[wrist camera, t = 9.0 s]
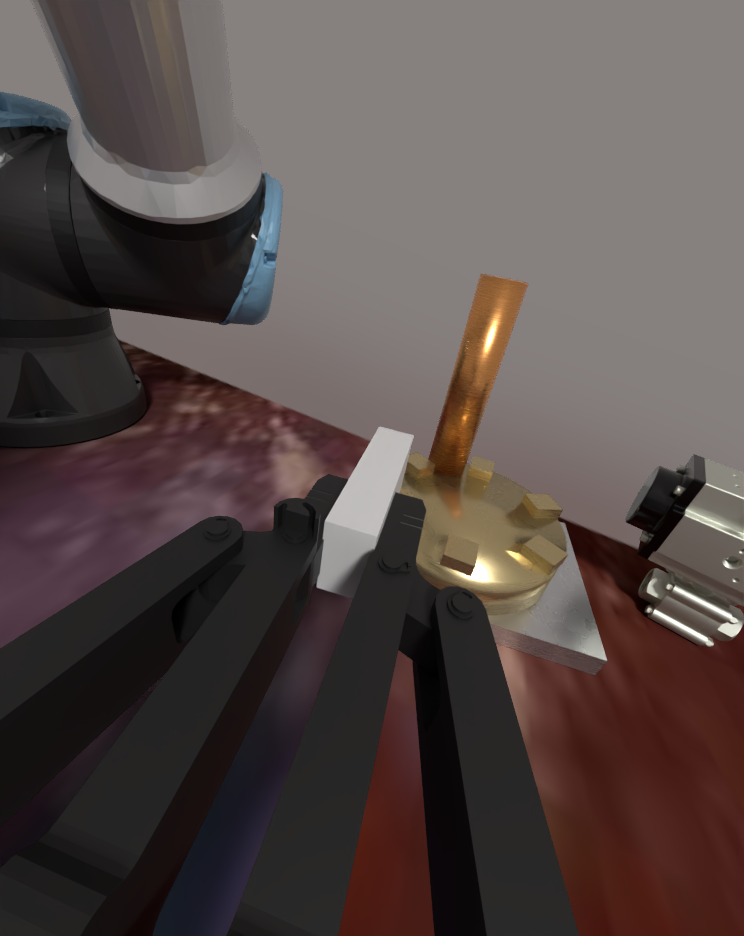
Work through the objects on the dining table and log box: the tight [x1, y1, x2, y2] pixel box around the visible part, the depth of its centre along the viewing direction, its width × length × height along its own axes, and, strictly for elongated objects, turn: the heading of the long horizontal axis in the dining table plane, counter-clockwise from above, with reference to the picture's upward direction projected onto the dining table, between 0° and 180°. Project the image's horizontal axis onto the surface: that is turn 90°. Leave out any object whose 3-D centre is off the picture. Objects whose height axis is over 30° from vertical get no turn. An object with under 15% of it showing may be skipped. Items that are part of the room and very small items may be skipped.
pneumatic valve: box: [626, 455, 744, 647], centre depth 24 cm, size 6×12×12 cm, turn 52°
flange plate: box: [315, 522, 607, 675], centre depth 28 cm, size 18×13×2 cm
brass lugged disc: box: [399, 274, 568, 616], centre depth 24 cm, size 14×13×17 cm
